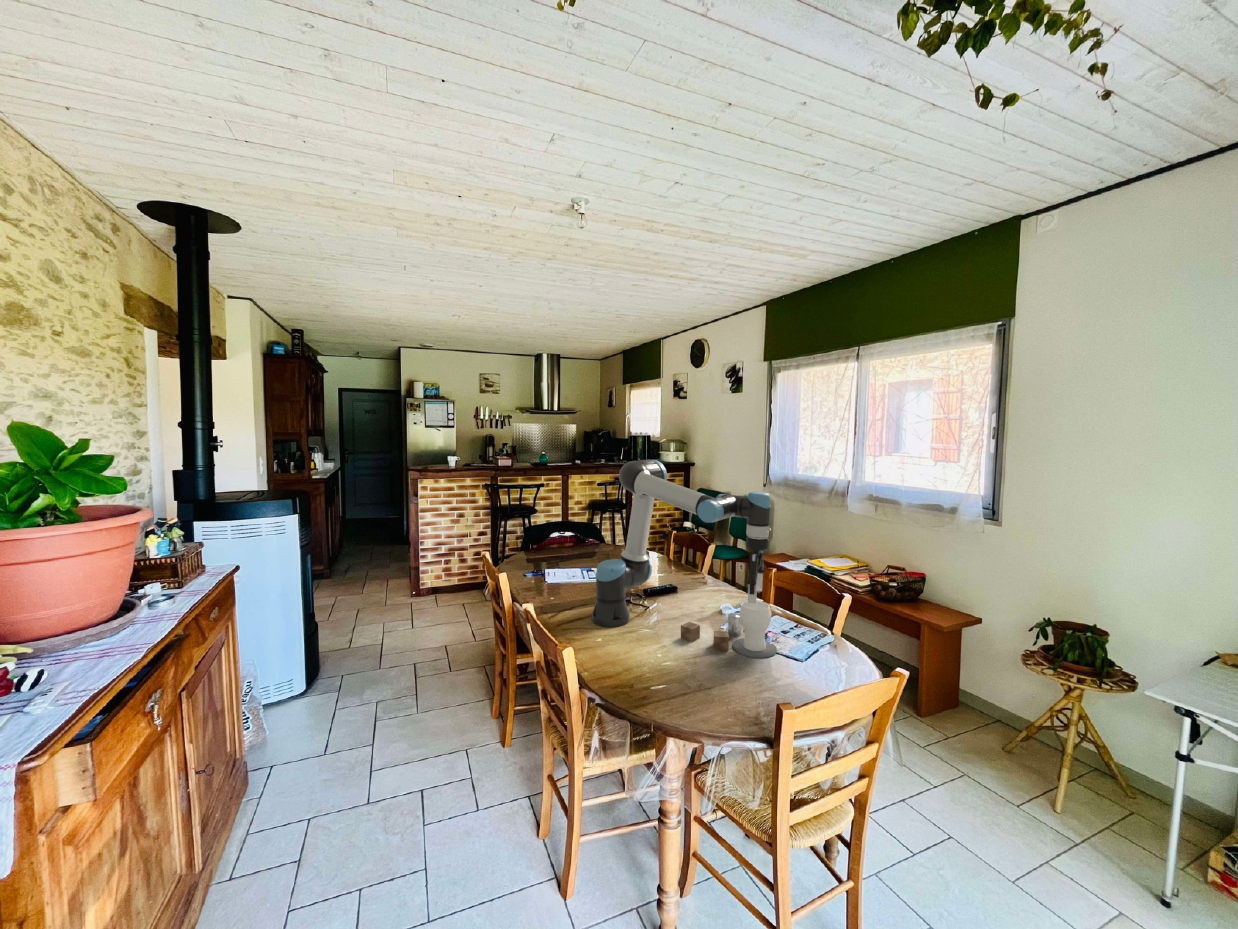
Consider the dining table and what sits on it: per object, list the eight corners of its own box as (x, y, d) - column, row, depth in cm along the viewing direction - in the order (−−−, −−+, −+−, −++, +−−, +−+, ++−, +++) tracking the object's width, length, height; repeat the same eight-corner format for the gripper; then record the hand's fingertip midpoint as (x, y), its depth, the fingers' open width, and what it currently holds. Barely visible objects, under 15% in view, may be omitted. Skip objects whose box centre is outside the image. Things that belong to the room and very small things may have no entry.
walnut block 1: (680, 638, 188) (680, 625, 187) (688, 634, 191) (689, 621, 191) (691, 642, 184) (691, 629, 184) (699, 638, 188) (700, 625, 187)
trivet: (728, 653, 176) (728, 651, 176) (737, 636, 189) (737, 635, 189) (774, 661, 170) (774, 659, 170) (779, 643, 183) (779, 642, 183)
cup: (771, 654, 173) (772, 611, 172) (739, 651, 175) (740, 609, 174) (768, 641, 184) (770, 601, 182) (738, 639, 186) (739, 598, 185)
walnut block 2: (713, 650, 178) (714, 636, 178) (713, 644, 183) (713, 630, 183) (728, 651, 177) (728, 637, 177) (727, 645, 182) (727, 631, 182)
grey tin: (726, 635, 191) (726, 616, 190) (729, 630, 196) (729, 612, 195) (739, 637, 189) (740, 618, 188) (742, 632, 194) (742, 614, 193)
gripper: (763, 546, 163) (760, 610, 165) (773, 531, 186) (770, 587, 188) (739, 543, 166) (737, 606, 168) (752, 528, 189) (750, 584, 191)
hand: (755, 596), depth 178 cm, fingers open, 13 cm apart
